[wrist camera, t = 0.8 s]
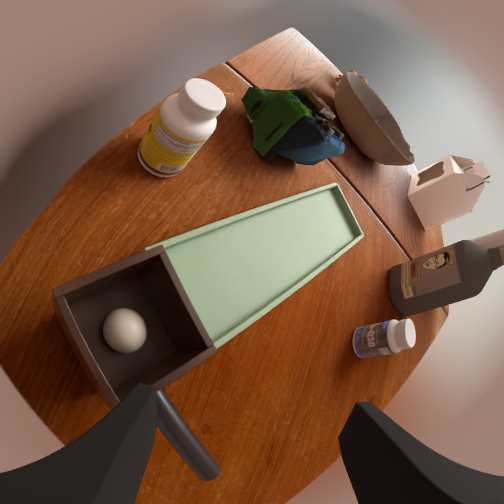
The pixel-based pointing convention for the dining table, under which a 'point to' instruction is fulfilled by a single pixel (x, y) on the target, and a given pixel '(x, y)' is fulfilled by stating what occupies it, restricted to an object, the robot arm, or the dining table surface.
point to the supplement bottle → (181, 127)
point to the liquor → (443, 276)
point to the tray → (260, 257)
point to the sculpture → (292, 125)
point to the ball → (124, 330)
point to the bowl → (370, 122)
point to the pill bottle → (383, 338)
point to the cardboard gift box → (446, 189)
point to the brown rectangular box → (154, 348)
